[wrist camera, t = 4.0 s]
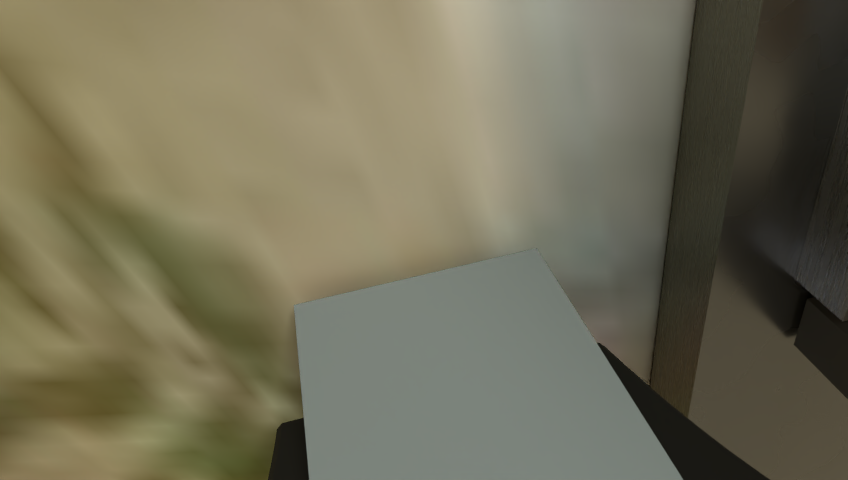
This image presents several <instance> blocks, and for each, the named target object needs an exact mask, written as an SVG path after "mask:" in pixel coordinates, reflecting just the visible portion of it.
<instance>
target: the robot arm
mask: <svg viewBox="0 0 848 480" xmlns="http://www.w3.org/2000/svg"><path fill="white" fill-rule="evenodd" d="M597 344H598V346H599V347H600V349H601V351H602V352H603V354H604V355H605V357H606V359H607V360H608V362H609V363H610V365H611V366H612V368H613V370H614V371H615V373H616V374H617V376H618V377H619V379H620V381H621V382H622V384H623V385H624V387H625V389H626V390H627V392H628V393H629V395H630V396H631V398H632V400H633V401H634V403H635V404H636V406H637V407H638V409H639V411H640V412H641V414H642V415H643V417H644V419H645V420H646V422H647V423H648V425H649V426H650V428H651V430H652V431H653V433H654V434H655V436H656V437H657V439H658V441H659V442H660V444H661V445H662V447H663V449H664V450H665V452H666V453H667V455H668V456H669V458H670V460H671V461H672V463H673V464H674V466H675V467H676V469H677V471H678V472H679V474H680V475H681V477H682V479H683V480H770V479H769V478H767V477H766V476H764V475H763V474H761V473H760V472H759V471H757V470H756V469H754V468H753V467H751V466H750V465H749V464H747V463H746V462H745V461H743V460H742V459H740V458H739V457H738V456H736V455H735V454H734V453H732V452H731V451H729V450H728V449H727V448H725V447H724V446H723V445H721V444H720V443H719V442H717V441H716V440H715V439H714V438H712V437H711V436H710V435H708V434H707V433H706V432H705V431H703V430H702V429H701V428H699V427H698V426H697V425H696V424H694V423H693V422H692V421H691V420H689V419H688V418H687V417H686V416H684V415H683V414H682V413H681V412H679V411H678V410H677V409H676V408H674V407H673V406H672V405H671V404H670V403H668V402H667V401H666V400H665V399H664V398H662V397H661V396H660V395H659V394H658V393H657V392H655V391H654V390H653V389H652V388H651V387H650V386H648V385H647V384H646V383H645V382H644V381H643V380H641V379H640V378H639V377H638V376H637V375H636V374H635V373H633V372H632V371H631V370H630V369H629V368H628V367H627V366H626V365H624V364H623V363H622V362H621V361H620V360H619V359H618V358H617V357H616V356H614V355H613V354H612V353H611V352H610V351H609V350H608V349H607V348H606V347H605V346H603V345H602V344H600V343H597ZM268 480H309V471H308V460H307V449H306V437H305V426H304V418H301V419H297V420H293V421H289V422H286V423H282V424H281V425H280V426H279V428H278V429H277V433H276V441H275V447H274V453H273V458H272V463H271V468H270V473H269V477H268Z"/></svg>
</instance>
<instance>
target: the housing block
mask: <svg viewBox="0 0 848 480" xmlns="http://www.w3.org/2000/svg"><path fill="white" fill-rule="evenodd" d="M294 312H295V323H296V335H297V346H298V358H299V369H300V380H301V392H302V403H303V414H304V426H305V437H306V449H307V460H308V471H309V480H683V479H682V477H681V475H680V474H679V472H678V471H677V469H676V467H675V466H674V464H673V463H672V461H671V460H670V458H669V456H668V455H667V453H666V452H665V450H664V449H663V447H662V445H661V444H660V442H659V441H658V439H657V437H656V436H655V434H654V433H653V431H652V430H651V428H650V426H649V425H648V423H647V422H646V420H645V419H644V417H643V415H642V414H641V412H640V411H639V409H638V407H637V406H636V404H635V403H634V401H633V400H632V398H631V396H630V395H629V393H628V392H627V390H626V389H625V387H624V385H623V384H622V382H621V381H620V379H619V377H618V376H617V374H616V373H615V371H614V370H613V368H612V366H611V365H610V363H609V362H608V360H607V359H606V357H605V355H604V354H603V352H602V351H601V349H600V347H599V346H598V344H597V343H596V341H595V340H594V338H593V336H592V335H591V333H590V332H589V330H588V329H587V327H586V325H585V324H584V322H583V321H582V319H581V317H580V316H579V314H578V313H577V311H576V310H575V308H574V306H573V305H572V303H571V302H570V300H569V299H568V297H567V295H566V294H565V292H564V291H563V289H562V287H561V286H560V284H559V283H558V281H557V280H556V278H555V276H554V275H553V273H552V272H551V270H550V269H549V267H548V265H547V264H546V262H545V261H544V259H543V257H542V256H541V254H540V253H539V251H538V250H537V248H535V249H531V250H526V251H522V252H518V253H514V254H509V255H505V256H501V257H497V258H492V259H488V260H484V261H480V262H475V263H471V264H467V265H462V266H458V267H454V268H450V269H445V270H441V271H437V272H433V273H428V274H424V275H420V276H416V277H411V278H407V279H403V280H399V281H394V282H390V283H386V284H382V285H377V286H373V287H369V288H365V289H360V290H356V291H352V292H348V293H343V294H339V295H335V296H331V297H326V298H322V299H318V300H314V301H309V302H305V303H301V304H297V305H294Z"/></svg>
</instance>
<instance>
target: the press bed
mask: <svg viewBox="0 0 848 480" xmlns="http://www.w3.org/2000/svg"><path fill="white" fill-rule="evenodd" d="M813 297H816V298H817V299H818V300H819V301H820V302H821V303H822V304H823V305H824V306H826V307H827V308H828V309H829V310H830V311H831V312H832V313H833V314H835V315H836V316H837V317H838V318H839V319H840V320H841V321H842V322H843V321H847V320H848V0H697V7H696V15H695V23H694V32H693V40H692V48H691V56H690V64H689V72H688V80H687V89H686V97H685V105H684V113H683V121H682V129H681V138H680V146H679V154H678V162H677V170H676V178H675V187H674V195H673V203H672V211H671V219H670V227H669V236H668V244H667V252H666V260H665V268H664V276H663V285H662V293H661V301H660V309H659V317H658V325H657V333H656V342H655V350H654V358H653V366H652V374H651V382H650V387H651V388H652V389H653V390H654V391H655V392H657V393H658V394H659V395H660V396H661V397H662V398H664V399H665V400H666V401H667V402H668V403H670V404H671V405H672V406H673V407H674V408H676V409H677V410H678V411H679V412H681V413H682V414H683V415H684V416H686V417H687V418H688V419H689V420H691V421H692V422H693V423H694V424H696V425H697V426H698V427H699V428H701V429H702V430H703V431H705V432H706V433H707V434H708V435H710V436H711V437H712V438H714V439H715V440H716V441H717V442H719V443H720V444H721V445H723V446H724V447H725V448H727V449H728V450H729V451H731V452H732V453H734V454H735V455H736V456H738V457H739V458H740V459H742V460H743V461H745V462H746V463H747V464H749V465H750V466H751V467H753V468H754V469H756V470H757V471H759V472H760V473H761V474H763V475H764V476H766V477H767V478H769V479H770V480H848V399H847V398H846V397H845V396H844V395H843V394H842V393H841V392H840V391H839V390H838V389H837V388H836V387H835V386H834V385H833V384H832V383H831V382H830V381H829V380H828V379H827V378H826V377H825V376H824V375H823V374H822V373H821V372H820V371H819V370H818V369H817V368H816V367H815V366H814V365H813V364H812V363H811V362H810V361H809V360H808V359H807V358H806V357H805V356H804V355H803V354H802V353H801V352H800V350H799V349H798V348H797V347H796V346H795V345H794V342H795V338H796V335H797V332H798V328H799V325H800V321H801V318H802V315H803V311H804V308H805V305H806V301H807V299H809V298H813Z"/></svg>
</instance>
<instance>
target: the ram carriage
mask: <svg viewBox="0 0 848 480" xmlns="http://www.w3.org/2000/svg"><path fill="white" fill-rule="evenodd" d="M794 345H795V346H796V347H797V348H798V349H799V350H800V352H801V353H802V354H803V355H804V356H805V357H806V358H807V359H808V360H809V361H810V362H811V363H812V364H813V365H814V366H815V367H816V368H817V369H818V370H819V371H820V372H821V373H822V374H823V375H824V376H825V377H826V378H827V379H828V380H829V381H830V382H831V383H832V384H833V385H834V386H835V387H836V388H837V389H838V390H839V391H840V392H841V393H842V394H843V395H844V396H845V397H846V398H847V399H848V320H847V321H843V322H842V321H841V320H840V319H839V318H838V317H837V316H836V315H835V314H833V313H832V312H831V311H830V310H829V309H828V308H827V307H826V306H824V305H823V304H822V303H821V302H820V301H819V300H818V299H817V298H816V297H813V298H809V299H807V301H806V305H805V308H804V311H803V315H802V318H801V321H800V325H799V328H798V332H797V335H796V338H795V342H794Z"/></svg>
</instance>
